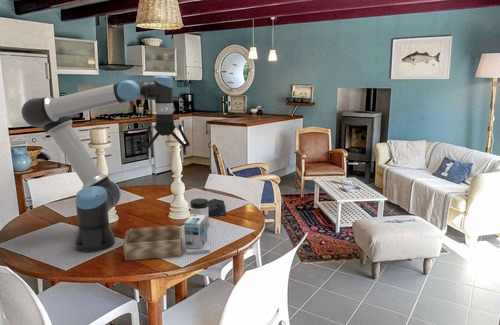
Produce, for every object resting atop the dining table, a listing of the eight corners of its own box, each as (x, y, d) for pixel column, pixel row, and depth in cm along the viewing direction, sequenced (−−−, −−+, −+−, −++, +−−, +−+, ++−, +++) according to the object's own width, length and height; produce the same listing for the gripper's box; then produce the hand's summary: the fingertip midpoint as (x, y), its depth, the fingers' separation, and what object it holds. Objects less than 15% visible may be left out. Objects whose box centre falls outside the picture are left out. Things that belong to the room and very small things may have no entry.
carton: (123, 261, 145) (122, 244, 144) (127, 244, 161) (126, 228, 159) (182, 255, 150) (182, 239, 148) (181, 240, 165) (180, 225, 164)
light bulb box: (200, 249, 153) (200, 223, 150) (184, 248, 154) (183, 222, 152) (207, 239, 163) (207, 214, 161) (192, 238, 164) (191, 213, 162)
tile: (186, 254, 151) (186, 251, 151) (185, 240, 164) (185, 237, 164) (209, 252, 153) (209, 249, 152) (206, 238, 166) (206, 236, 166)
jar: (202, 220, 188) (201, 197, 186) (212, 225, 182) (212, 200, 180) (186, 225, 182) (186, 200, 180) (197, 230, 176) (196, 204, 174)
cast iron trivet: (227, 204, 216) (227, 195, 215) (225, 217, 194) (225, 208, 193) (200, 204, 216) (200, 196, 215) (195, 217, 194) (195, 208, 193)
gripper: (132, 114, 157) (135, 165, 161) (194, 113, 162) (196, 163, 166) (134, 113, 164) (137, 162, 168) (193, 112, 169) (195, 160, 173)
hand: (166, 162), depth 167 cm, fingers open, 13 cm apart
